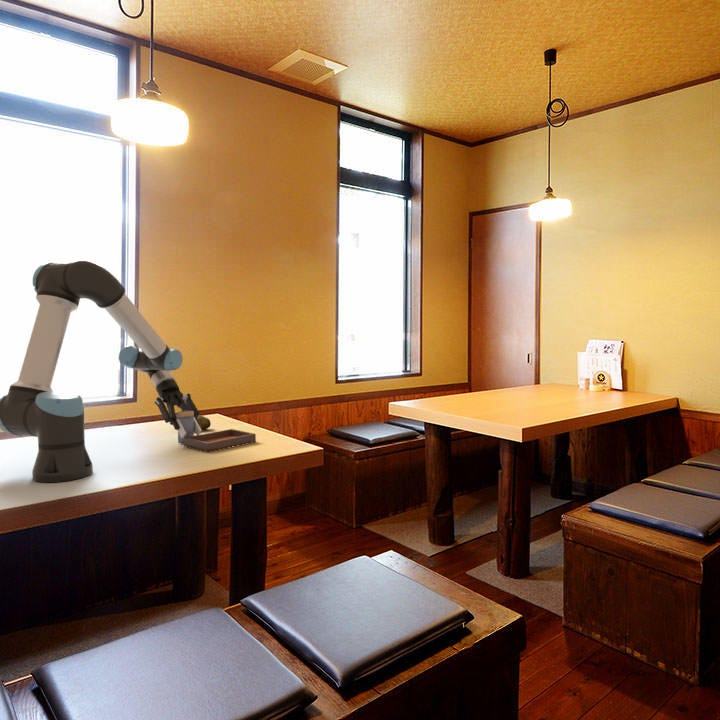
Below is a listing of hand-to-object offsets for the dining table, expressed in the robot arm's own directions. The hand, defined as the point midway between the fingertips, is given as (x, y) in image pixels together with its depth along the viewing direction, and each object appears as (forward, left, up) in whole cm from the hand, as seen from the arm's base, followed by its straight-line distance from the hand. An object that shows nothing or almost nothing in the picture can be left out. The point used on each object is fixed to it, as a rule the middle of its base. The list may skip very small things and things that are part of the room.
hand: (191, 434), depth 200 cm
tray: (+6, -8, -3) cm, 11 cm away
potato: (+14, +21, -4) cm, 26 cm away
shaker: (0, +4, -3) cm, 5 cm away
